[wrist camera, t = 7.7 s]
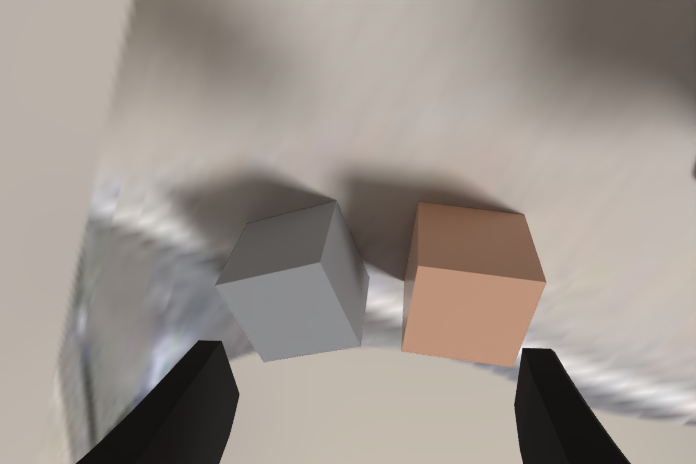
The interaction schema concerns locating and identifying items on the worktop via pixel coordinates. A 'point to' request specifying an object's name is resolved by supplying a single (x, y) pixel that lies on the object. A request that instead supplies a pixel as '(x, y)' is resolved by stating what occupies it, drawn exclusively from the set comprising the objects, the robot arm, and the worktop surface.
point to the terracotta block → (470, 284)
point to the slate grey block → (297, 284)
